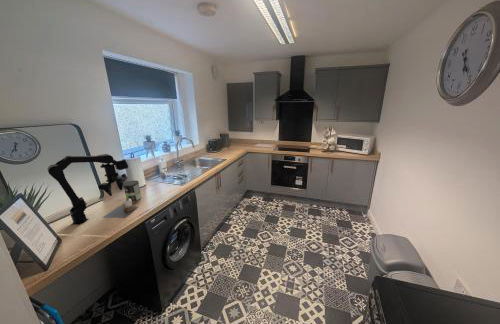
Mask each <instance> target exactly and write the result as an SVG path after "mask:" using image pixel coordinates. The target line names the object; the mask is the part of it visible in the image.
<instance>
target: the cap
mask: <svg viewBox="0 0 500 324" xmlns="http://www.w3.org/2000/svg"><path fill="white" fill-rule="evenodd" d="M123 205H124V207H125V208H131V207H132V206H133V202H132V200H131V199H127V198H126V199H124V200H123Z"/></svg>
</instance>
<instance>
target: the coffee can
mask: <svg viewBox="0 0 500 324" xmlns="http://www.w3.org/2000/svg"><path fill="white" fill-rule="evenodd" d="M122 187H123V189H124V193H125V194H124V195H125V198H126V199H131V200H132V203H133V202H137V201H140V200H141V199H142V192H141V187H140V183H139V181H138V180H130V181H125V182H123V186H122Z"/></svg>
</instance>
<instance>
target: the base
mask: <svg viewBox="0 0 500 324" xmlns="http://www.w3.org/2000/svg"><path fill="white" fill-rule="evenodd" d="M132 204H133V203H132ZM122 207H123V209H124V212H131V211H133V212H135V211H136V210H137V209H136V208H135V207H136V205H135V204H133V206H132V207H131V208H125V206H122ZM135 209H136V210H135ZM134 210H135V211H134Z"/></svg>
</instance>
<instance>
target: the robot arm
mask: <svg viewBox="0 0 500 324" xmlns="http://www.w3.org/2000/svg"><path fill="white" fill-rule="evenodd" d="M73 163H74V164H77V163H100V166H99V167H100V168H101V169H104V172H105V174H104V177H106V181H105V182H102V183H100V184H99V185H98V189H99V190H101V191H102V190H103V191H104V192H105V193H106V194H107V195H109V196H110V197H112V196H113V193H112V185H113V184H114V183H116V186H117V187H118V189H119V190H120V191H122V190H123V187H124V186H123V184H124V183H126V180H127V179H128V176H127V173H122V174H119V173H118V172H117V171H116V170H118V171H122V170H123V171H124V170H126V169H129V165H128V163H127V161H126V159H125V158H123V159H121V160H115V159H114V157H113V155H110V154H109V153H104V154H98V155H66V156H64V157H63V158H62V159H61V160H58V161H57V162H55V163H52V164H50V165H48V167H47V169H46V170H47V172H48V175H50V176H51V177H52V178H53V179H54V180H55V181H56V182H58V184H59V185H60V187H61V188H62V190H63V191H64V193H65V194H66V195H67V197H68V198H69V200H70V203H71V205H72V207H71V209H69V214H70V217H71V219H72V223H71V224H70V225H74V226H75V225H77V226H80V225H82V224H84V223H86V222H87V221H88V220H89V218H87V216H86V213H85V211H86V210H87V205H88V204H87V202H86V201H85V200H84V198H83V197H82V196H80V197H79V196H78V195H77V194H76V192H75V190H74V189H73V187H72V186H71V184H70V183H69V181H68V180H67V178H66V176H65V172H64V170H66V169H67V167H69V166H70V165H71V164H73Z"/></svg>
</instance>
